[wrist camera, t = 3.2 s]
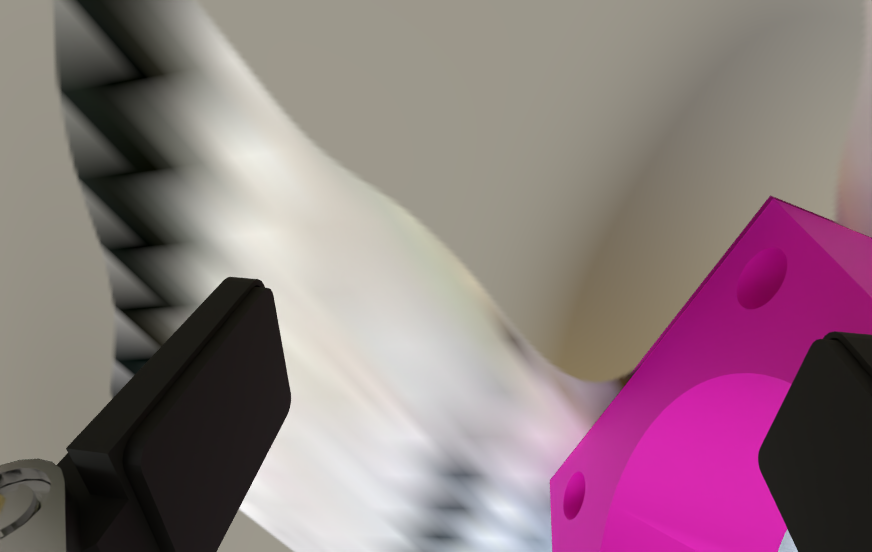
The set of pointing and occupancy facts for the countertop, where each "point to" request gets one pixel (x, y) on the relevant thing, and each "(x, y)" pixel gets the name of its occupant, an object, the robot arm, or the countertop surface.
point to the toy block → (714, 397)
